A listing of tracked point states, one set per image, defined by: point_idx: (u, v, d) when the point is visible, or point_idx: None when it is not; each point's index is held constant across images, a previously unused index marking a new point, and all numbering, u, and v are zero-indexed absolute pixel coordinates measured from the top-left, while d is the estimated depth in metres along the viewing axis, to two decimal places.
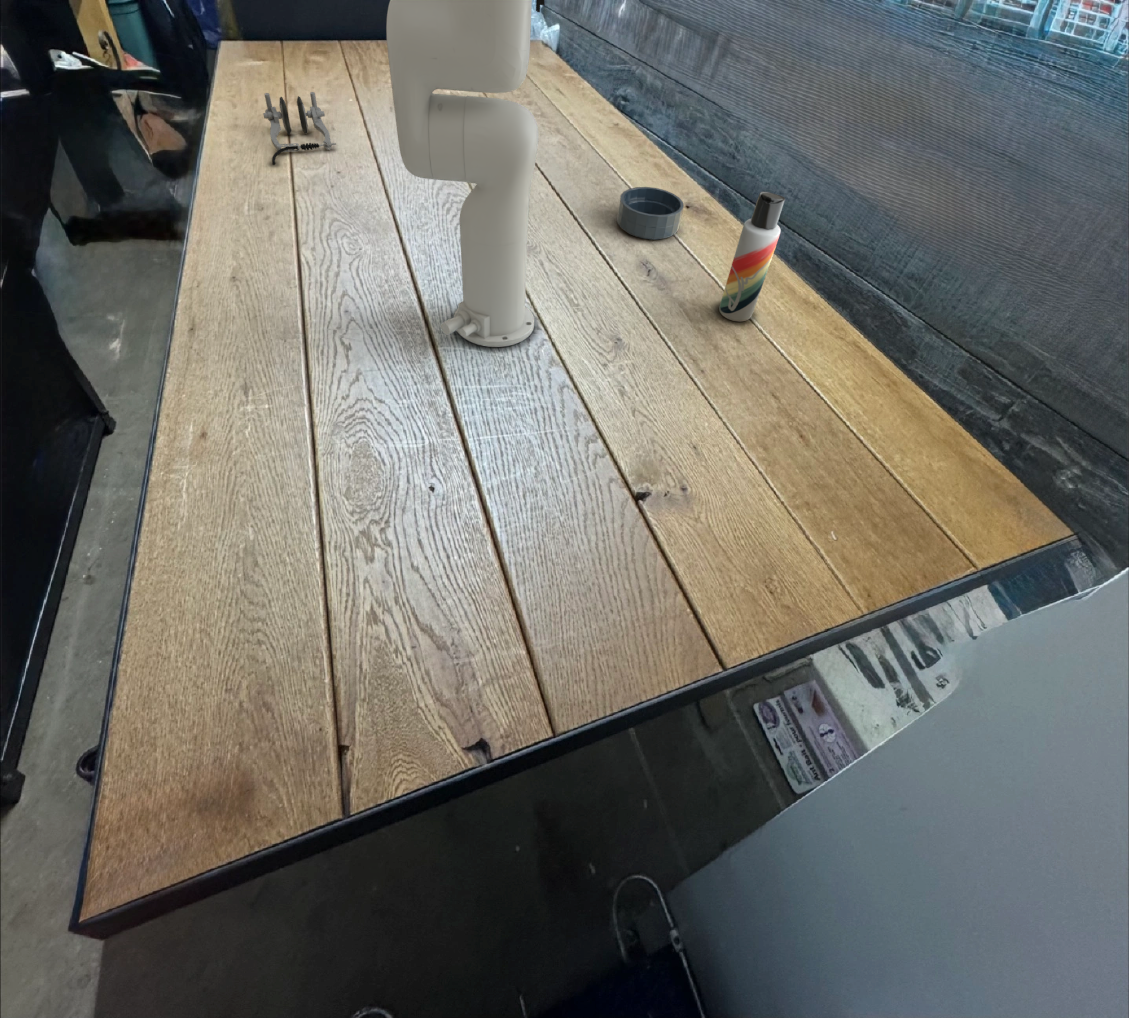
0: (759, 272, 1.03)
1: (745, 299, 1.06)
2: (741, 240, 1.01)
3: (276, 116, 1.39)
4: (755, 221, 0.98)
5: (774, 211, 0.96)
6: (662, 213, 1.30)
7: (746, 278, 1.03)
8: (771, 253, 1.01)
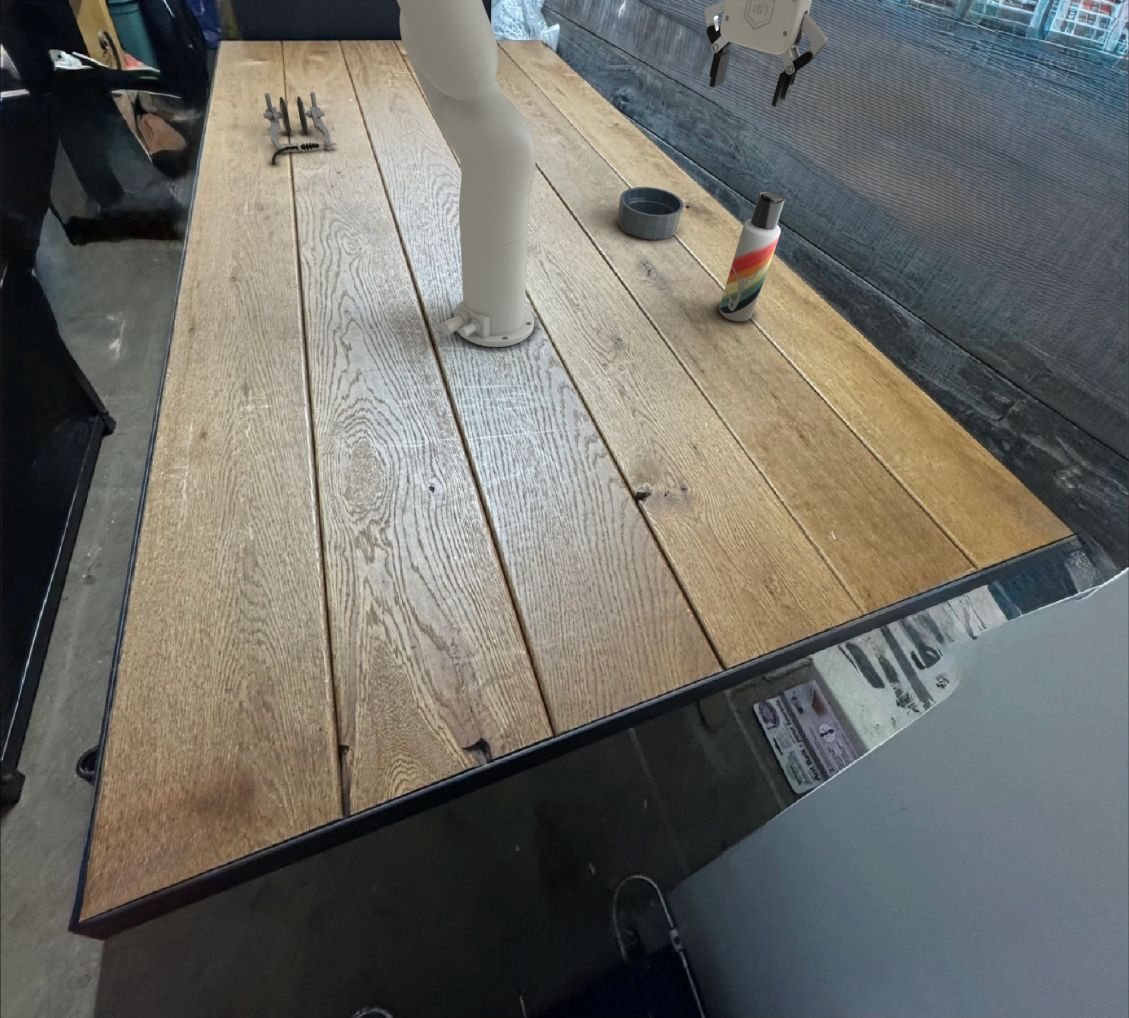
0: (759, 272, 1.03)
1: (745, 299, 1.06)
2: (741, 240, 1.01)
3: (276, 116, 1.39)
4: (755, 221, 0.98)
5: (774, 211, 0.96)
6: (662, 213, 1.30)
7: (746, 278, 1.03)
8: (771, 253, 1.01)
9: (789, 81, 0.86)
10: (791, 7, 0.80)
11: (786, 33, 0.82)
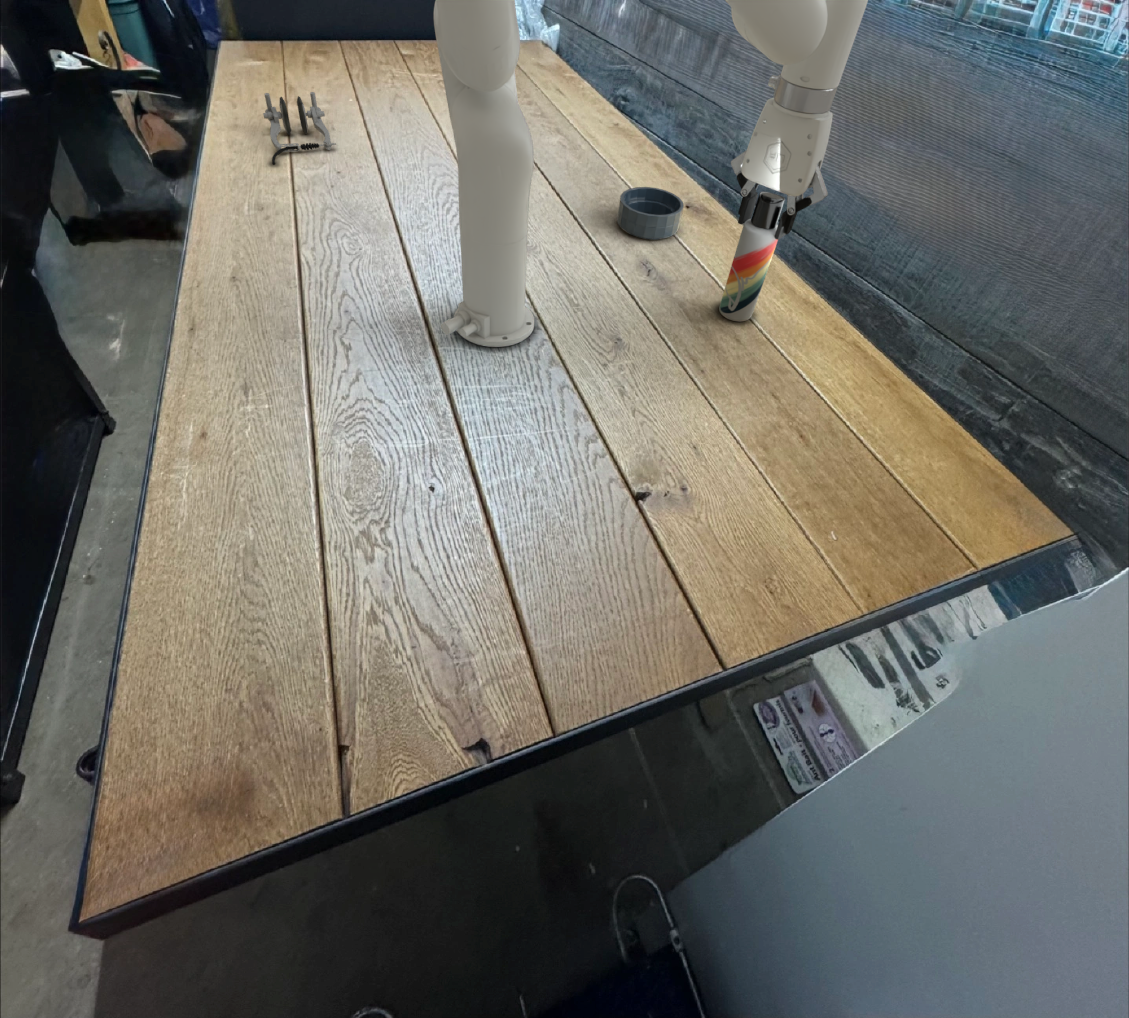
0: (759, 272, 1.03)
1: (745, 299, 1.06)
2: (741, 240, 1.01)
3: (276, 116, 1.39)
4: (755, 221, 0.98)
5: (774, 210, 0.96)
6: (662, 213, 1.30)
7: (746, 278, 1.03)
8: (771, 253, 1.01)
9: (790, 220, 0.96)
10: (806, 159, 0.88)
11: (801, 180, 0.90)
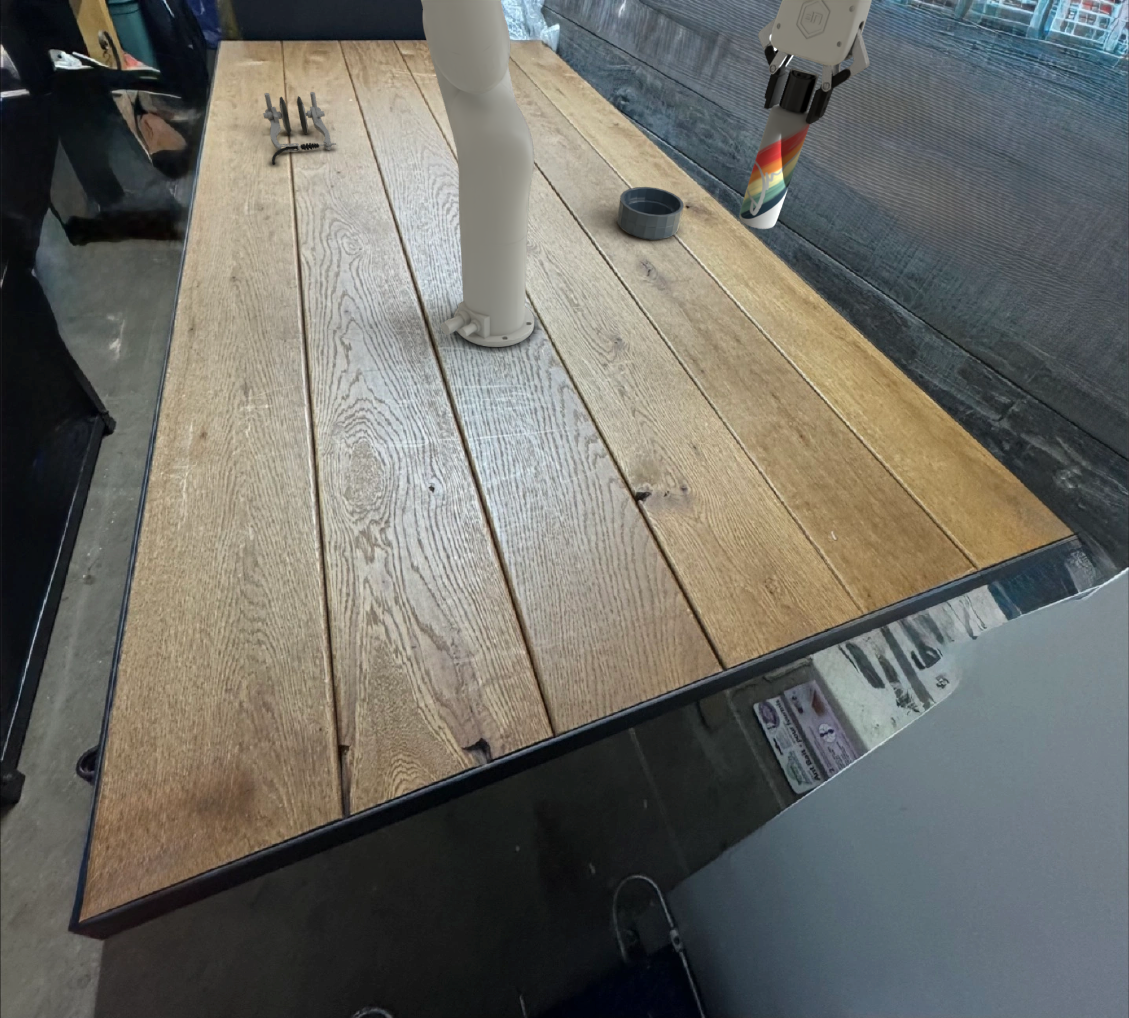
0: (786, 166, 0.91)
1: (769, 200, 0.95)
2: (767, 128, 0.89)
3: (276, 116, 1.39)
4: (784, 103, 0.87)
5: (807, 88, 0.85)
6: (662, 213, 1.30)
7: (771, 174, 0.92)
8: (801, 143, 0.90)
9: (825, 98, 0.84)
10: (847, 17, 0.77)
11: (840, 44, 0.79)
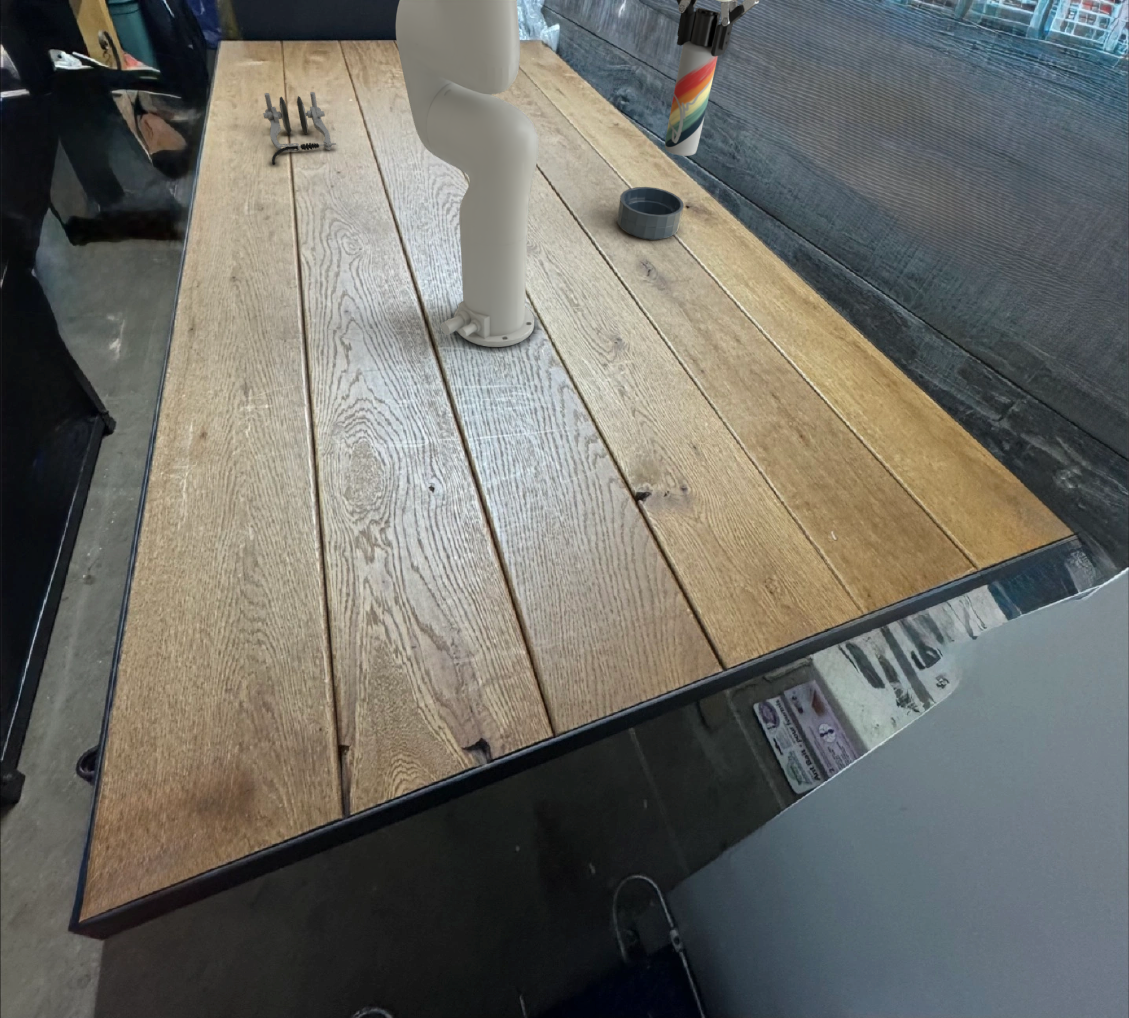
0: (699, 96, 1.04)
1: (687, 128, 1.08)
2: (680, 62, 1.03)
3: (276, 116, 1.39)
4: (693, 38, 1.00)
5: (710, 24, 0.98)
6: (662, 213, 1.30)
7: (686, 104, 1.05)
8: (710, 75, 1.03)
9: (725, 32, 0.97)
10: None
11: None
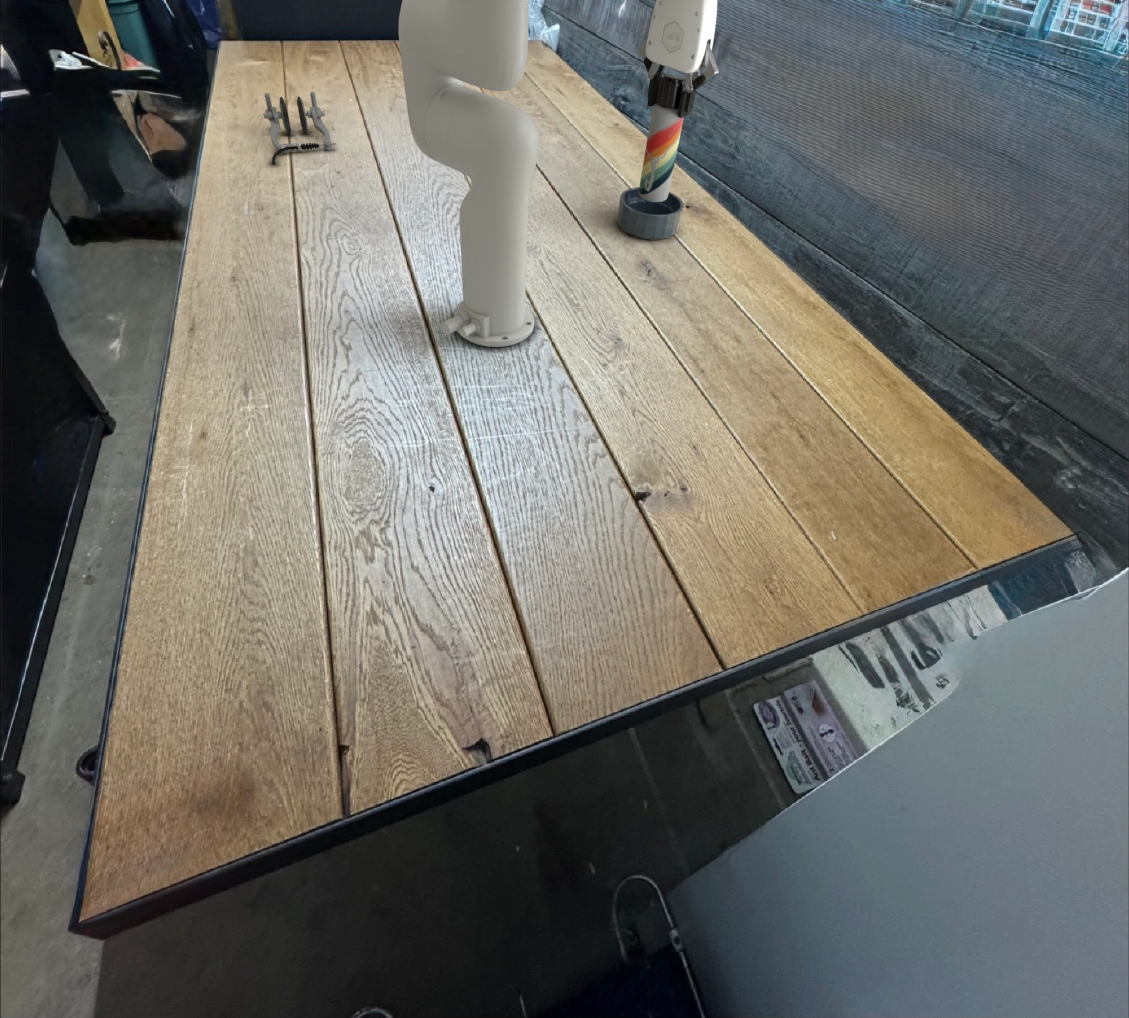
0: (668, 151, 1.16)
1: (658, 179, 1.19)
2: (651, 121, 1.14)
3: (276, 116, 1.39)
4: (661, 101, 1.11)
5: (676, 90, 1.09)
6: (662, 213, 1.30)
7: (657, 158, 1.17)
8: (677, 132, 1.14)
9: (689, 98, 1.09)
10: (695, 36, 1.01)
11: (693, 56, 1.03)
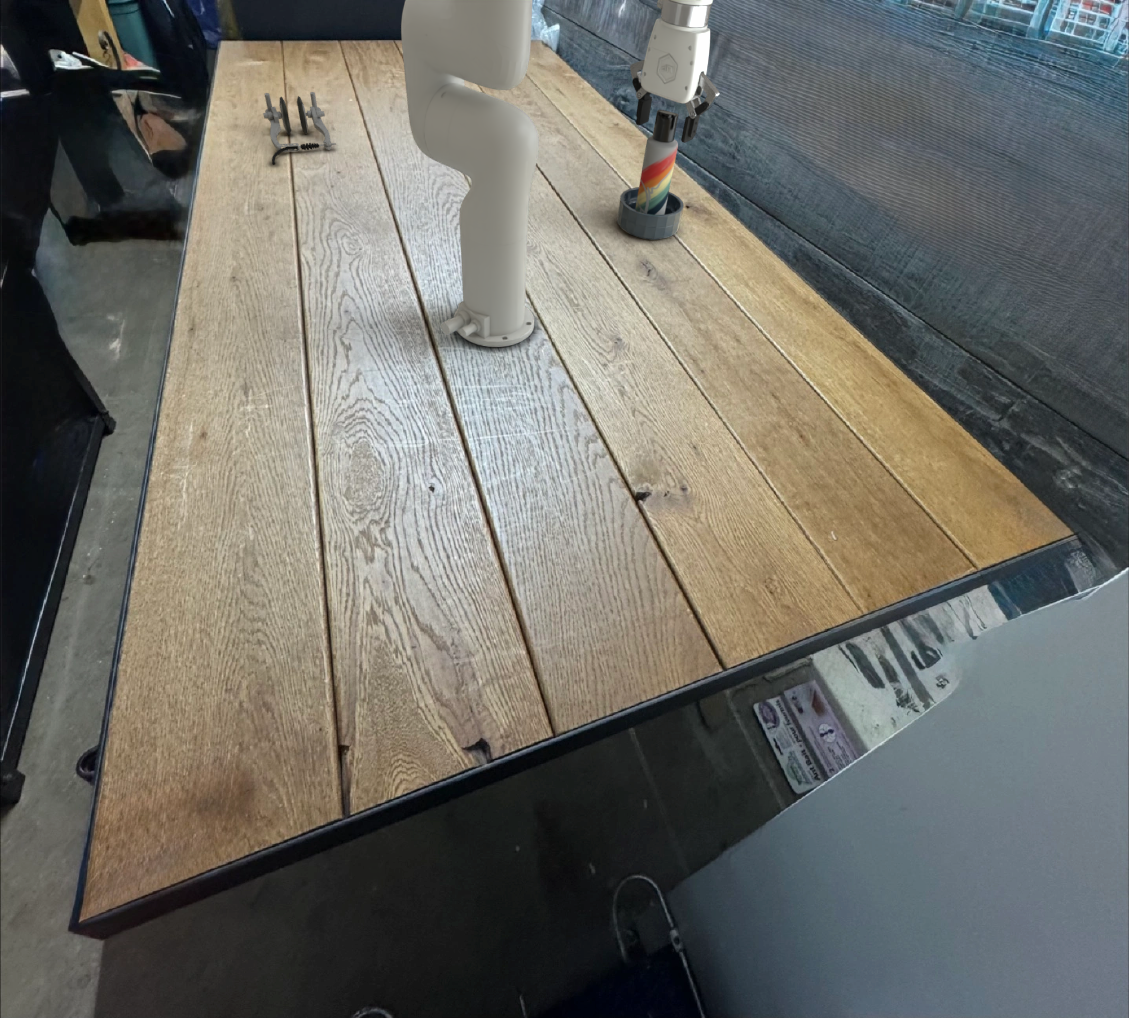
0: (662, 182, 1.20)
1: (653, 208, 1.23)
2: (645, 153, 1.18)
3: (276, 116, 1.39)
4: (655, 135, 1.15)
5: (669, 125, 1.13)
6: None
7: (651, 188, 1.21)
8: (671, 165, 1.18)
9: (693, 123, 1.11)
10: (689, 69, 1.04)
11: (687, 87, 1.06)
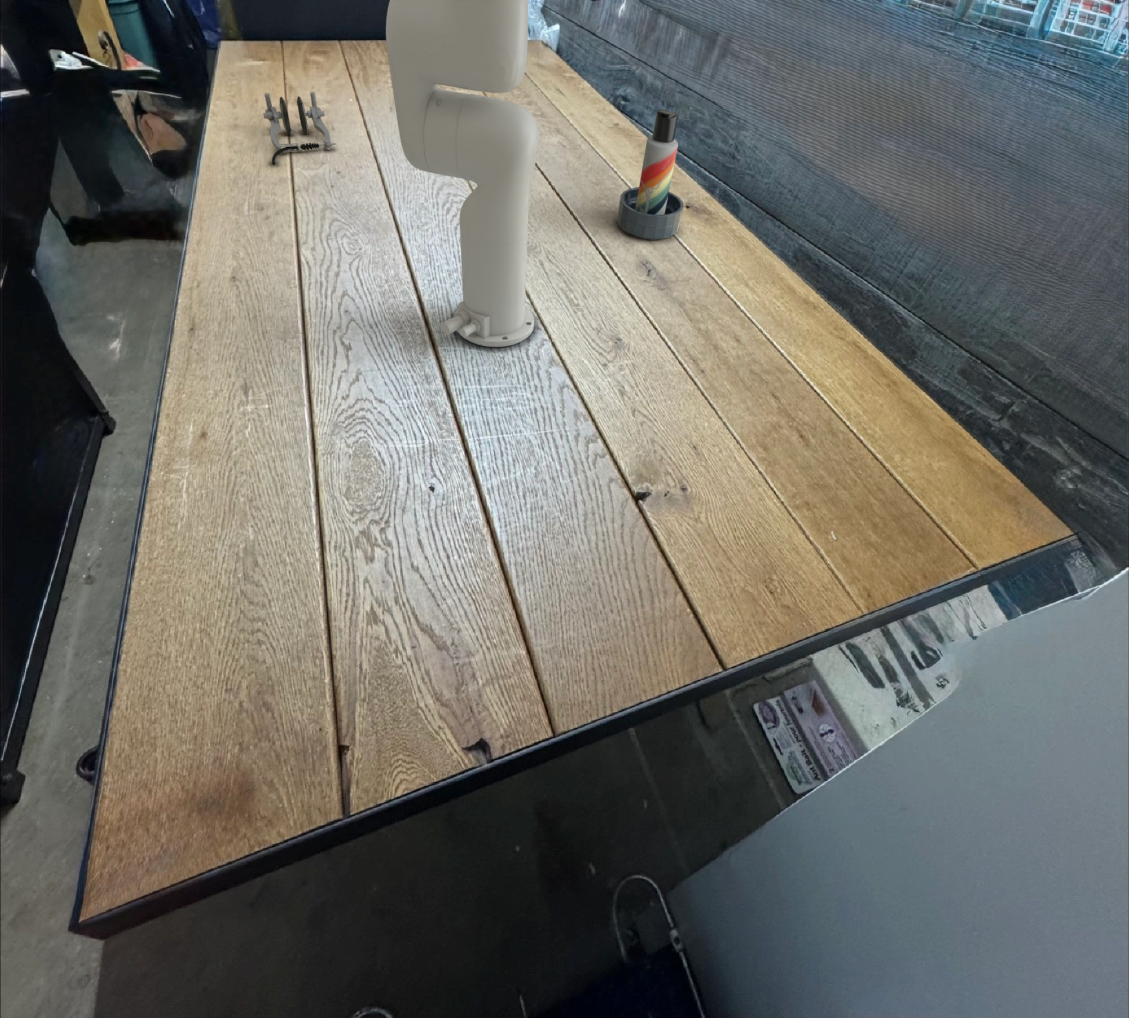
0: (662, 182, 1.20)
1: (653, 208, 1.23)
2: (645, 153, 1.18)
3: (276, 116, 1.39)
4: (655, 135, 1.15)
5: (669, 125, 1.13)
6: None
7: (651, 188, 1.21)
8: (671, 165, 1.18)
9: None
10: None
11: None
